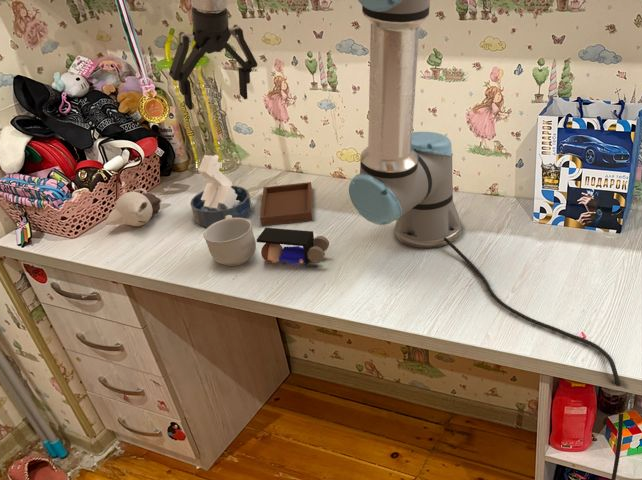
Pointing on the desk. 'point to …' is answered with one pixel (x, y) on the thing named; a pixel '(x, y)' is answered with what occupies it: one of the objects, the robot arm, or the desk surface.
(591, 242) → the desk surface
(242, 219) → the teacup
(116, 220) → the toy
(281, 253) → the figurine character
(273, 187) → the tray
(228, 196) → the beige irregular angular piece
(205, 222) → the bowl
